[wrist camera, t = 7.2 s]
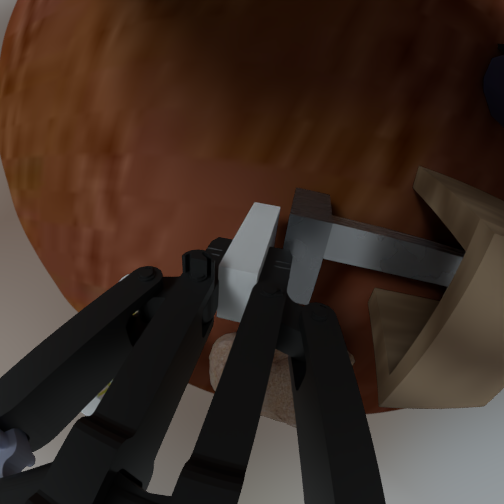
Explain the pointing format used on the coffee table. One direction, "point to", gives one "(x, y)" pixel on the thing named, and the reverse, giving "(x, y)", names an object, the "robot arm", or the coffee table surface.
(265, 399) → the stone
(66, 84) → the coffee table surface
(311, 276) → the grey square dumbbell
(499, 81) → the speaker
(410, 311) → the tunnel
